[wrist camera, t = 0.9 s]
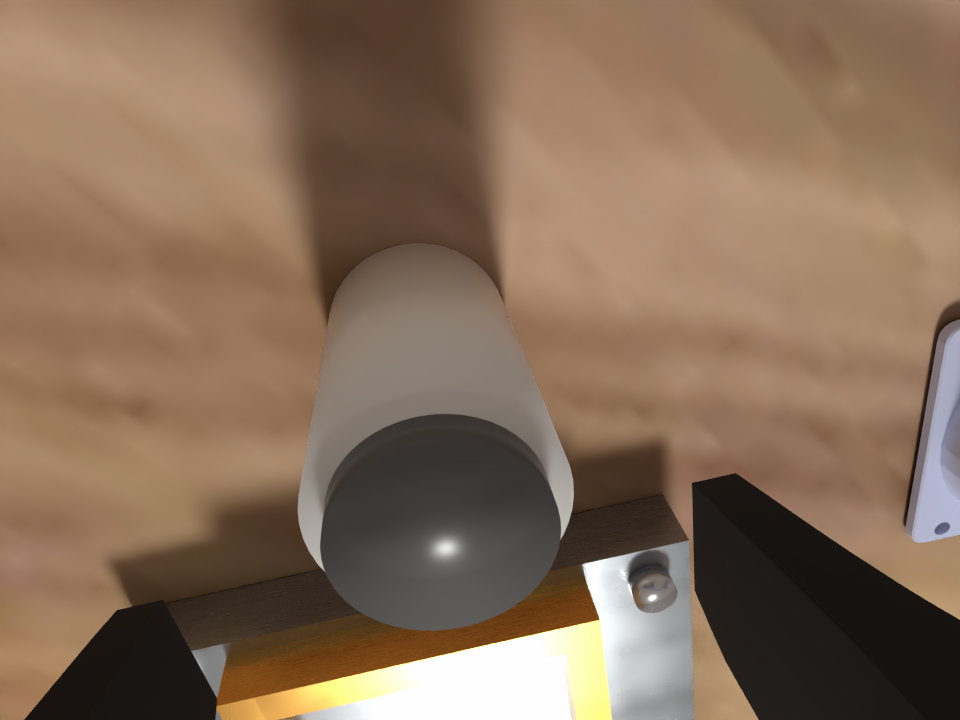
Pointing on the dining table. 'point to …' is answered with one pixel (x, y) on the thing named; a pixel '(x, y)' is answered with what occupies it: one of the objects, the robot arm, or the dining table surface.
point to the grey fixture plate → (470, 640)
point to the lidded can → (430, 447)
